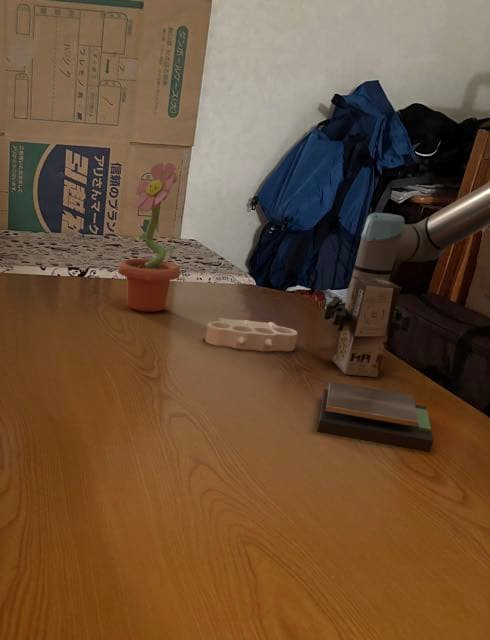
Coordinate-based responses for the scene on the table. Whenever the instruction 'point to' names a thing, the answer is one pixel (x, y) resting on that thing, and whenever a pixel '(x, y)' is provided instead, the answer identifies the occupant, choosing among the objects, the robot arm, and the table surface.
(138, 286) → the decorative flower
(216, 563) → the table surface
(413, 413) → the scale pan
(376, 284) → the coffee box
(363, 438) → the scale
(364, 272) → the robot arm
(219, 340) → the knuckle duster
